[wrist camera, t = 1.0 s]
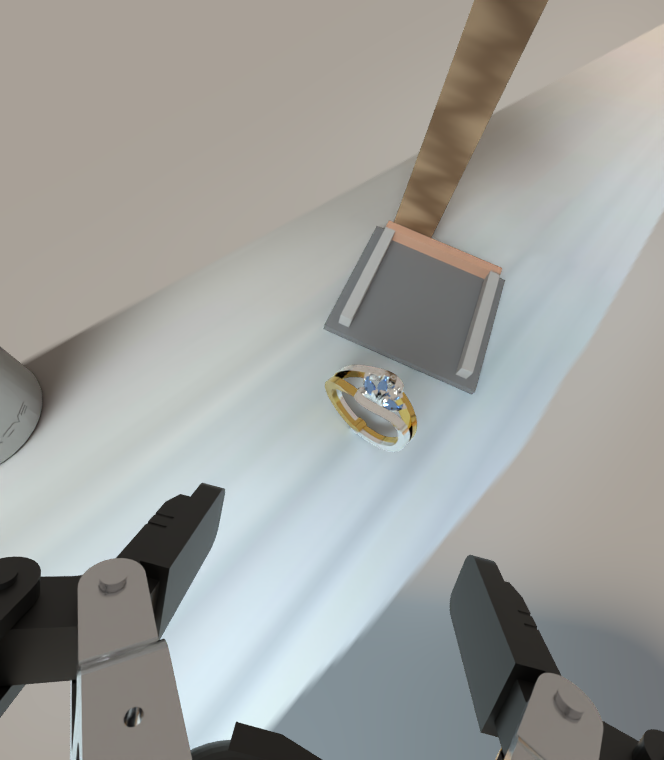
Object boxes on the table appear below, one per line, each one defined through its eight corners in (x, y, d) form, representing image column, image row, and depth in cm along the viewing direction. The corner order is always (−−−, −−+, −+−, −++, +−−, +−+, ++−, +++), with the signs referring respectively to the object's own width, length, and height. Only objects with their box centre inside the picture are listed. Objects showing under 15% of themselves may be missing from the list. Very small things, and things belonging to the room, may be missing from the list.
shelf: (358, 296, 36) (541, -257, 12) (403, 205, 42) (583, -277, 18) (498, 357, 35) (1002, -96, 11) (523, 255, 41) (879, -175, 17)
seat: (323, 328, 34) (326, 317, 32) (375, 230, 40) (379, 216, 38) (471, 394, 33) (482, 385, 31) (501, 284, 39) (511, 272, 37)
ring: (402, 446, 30) (443, 410, 23) (375, 474, 29) (410, 445, 22) (339, 385, 32) (359, 333, 24) (311, 409, 30) (324, 362, 23)
